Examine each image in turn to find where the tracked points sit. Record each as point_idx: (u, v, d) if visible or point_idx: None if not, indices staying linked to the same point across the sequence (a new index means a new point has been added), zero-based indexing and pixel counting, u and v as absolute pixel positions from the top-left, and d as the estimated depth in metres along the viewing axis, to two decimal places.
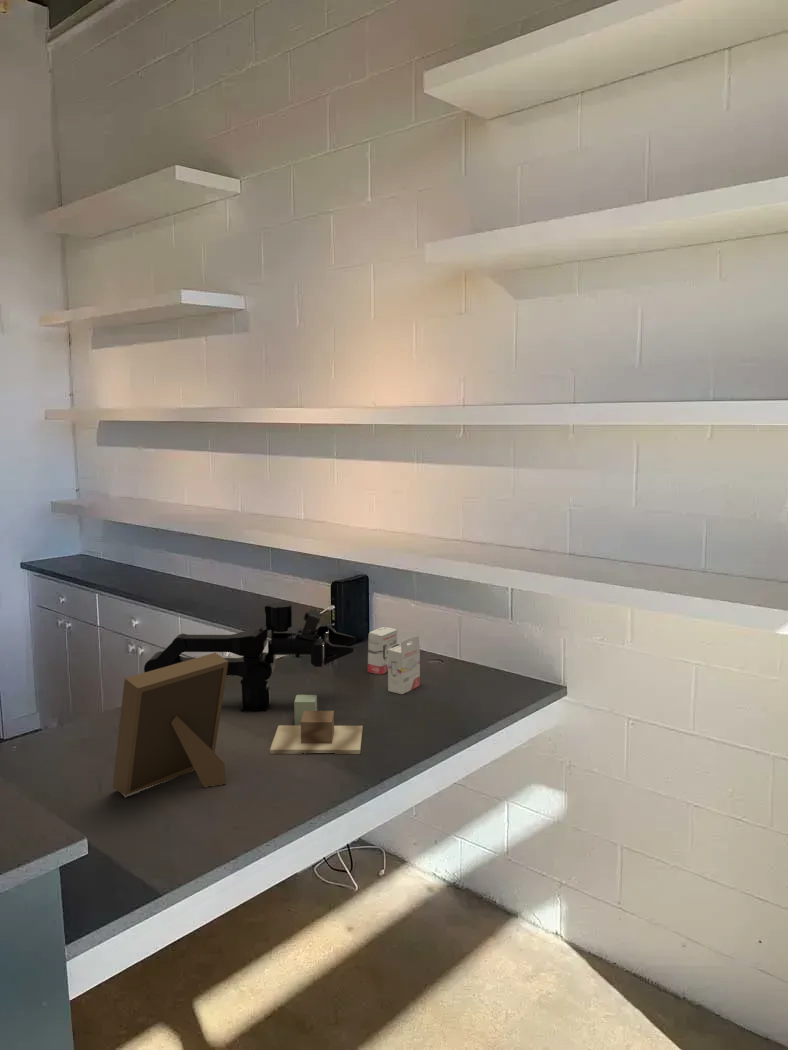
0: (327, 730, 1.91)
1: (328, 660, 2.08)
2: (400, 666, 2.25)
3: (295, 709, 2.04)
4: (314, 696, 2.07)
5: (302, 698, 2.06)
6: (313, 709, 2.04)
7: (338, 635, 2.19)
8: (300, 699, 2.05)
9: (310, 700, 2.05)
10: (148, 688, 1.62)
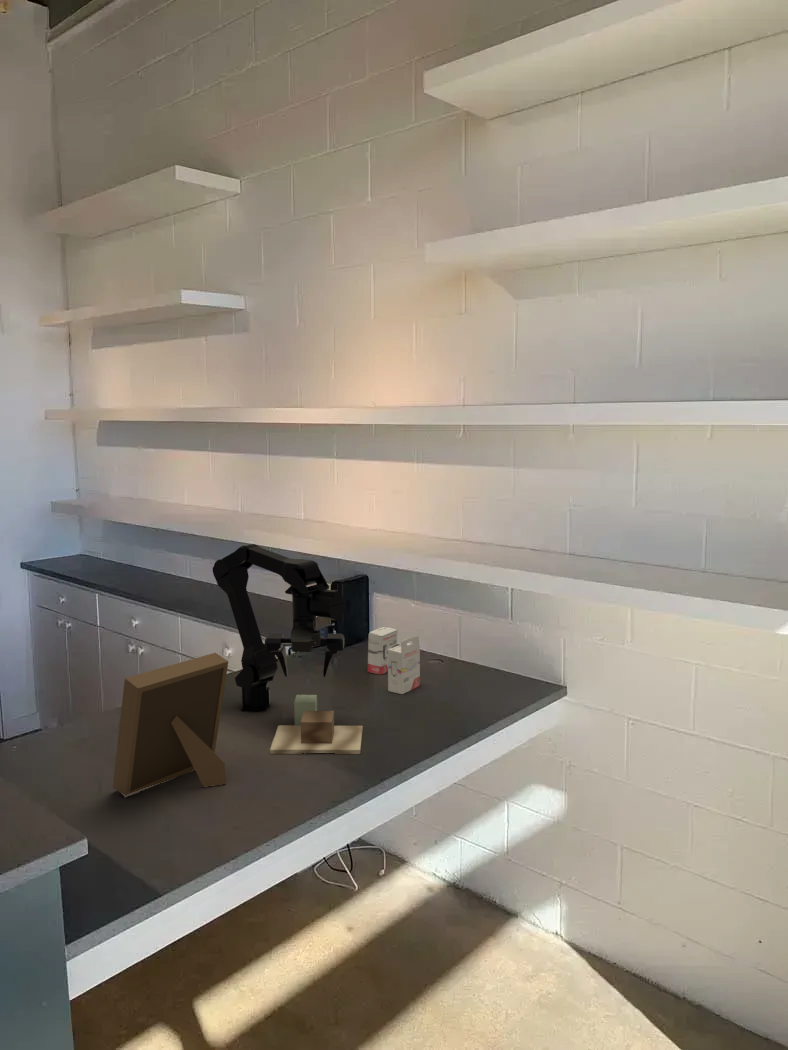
0: (327, 730, 1.91)
1: None
2: (400, 666, 2.25)
3: (295, 709, 2.04)
4: (314, 696, 2.07)
5: (302, 698, 2.06)
6: (313, 709, 2.04)
7: None
8: (300, 699, 2.05)
9: (310, 700, 2.05)
10: (148, 688, 1.62)
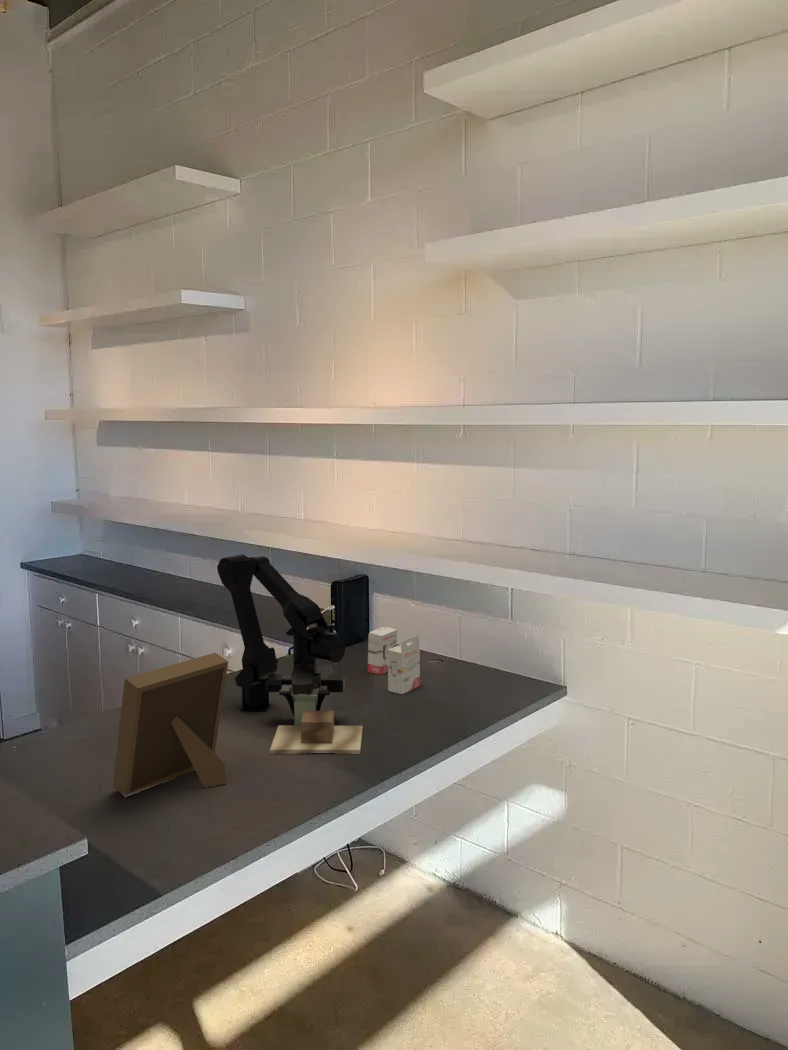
0: (327, 730, 1.91)
1: None
2: (400, 666, 2.25)
3: (295, 709, 2.04)
4: (314, 696, 2.07)
5: (302, 697, 2.06)
6: (313, 709, 2.04)
7: (317, 701, 2.05)
8: (300, 699, 2.05)
9: (310, 700, 2.05)
10: (148, 688, 1.62)
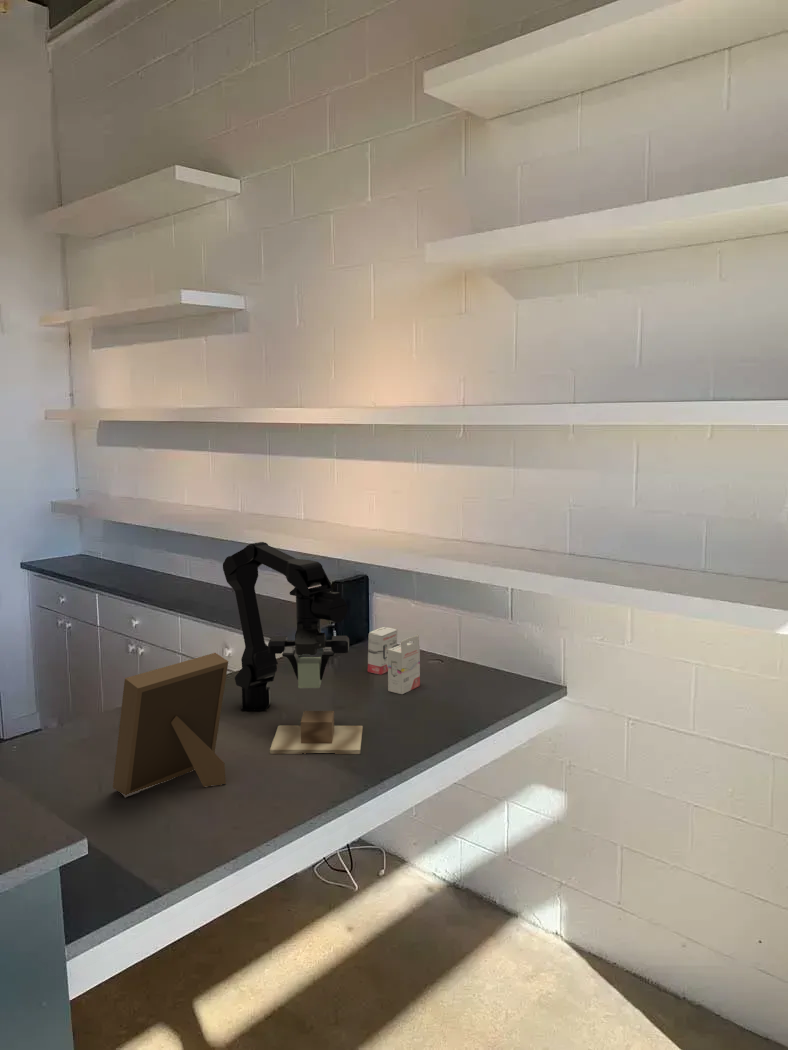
0: (327, 730, 1.91)
1: None
2: (400, 666, 2.25)
3: (299, 671, 1.99)
4: (318, 658, 2.02)
5: (305, 660, 2.01)
6: (317, 671, 1.99)
7: (321, 662, 2.00)
8: (303, 661, 2.00)
9: (314, 662, 1.99)
10: (148, 688, 1.62)
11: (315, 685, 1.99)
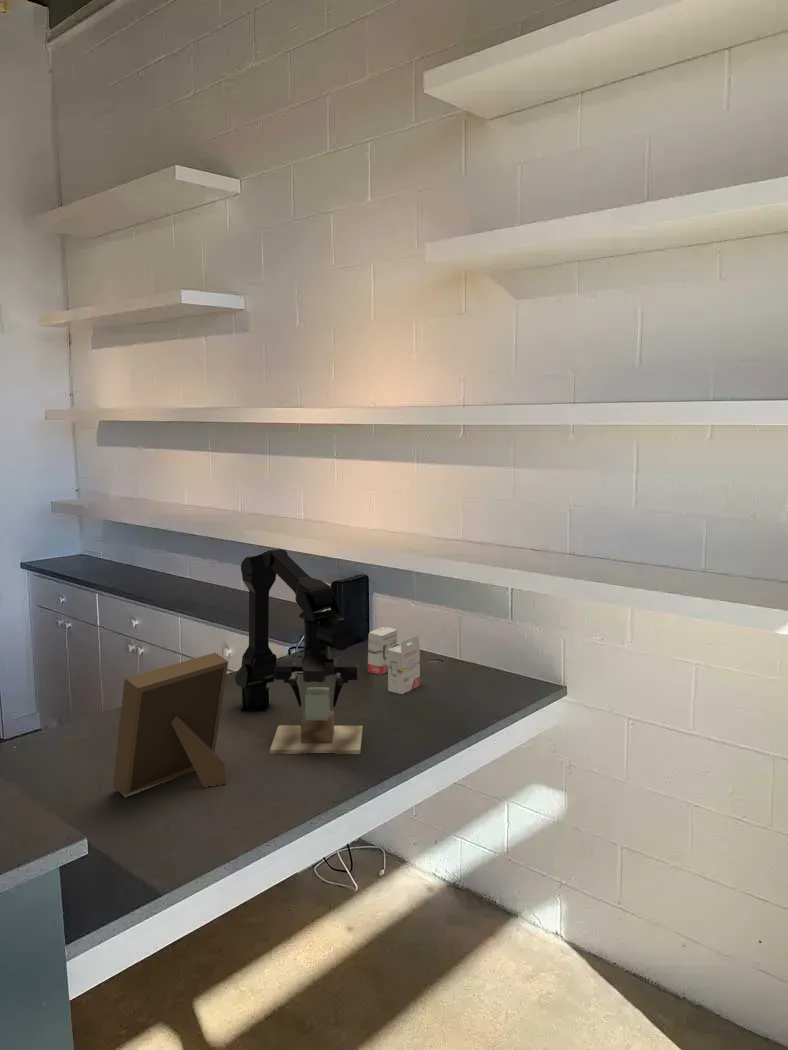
0: (327, 730, 1.91)
1: None
2: (400, 666, 2.25)
3: (306, 702, 1.91)
4: (326, 689, 1.95)
5: (313, 691, 1.93)
6: (325, 703, 1.91)
7: None
8: (311, 692, 1.93)
9: (322, 693, 1.92)
10: (148, 688, 1.62)
11: (323, 717, 1.92)
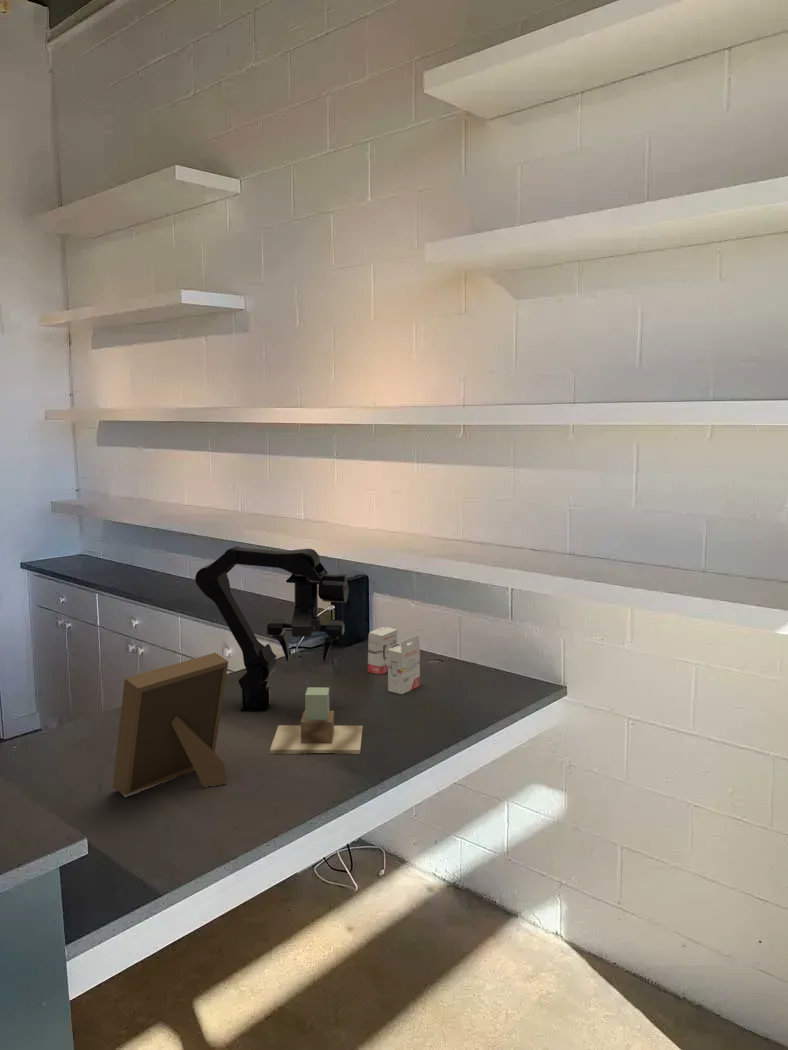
0: (327, 730, 1.91)
1: None
2: (400, 666, 2.25)
3: (306, 702, 1.91)
4: (326, 689, 1.95)
5: (313, 691, 1.93)
6: (325, 703, 1.91)
7: None
8: (311, 692, 1.93)
9: (322, 693, 1.92)
10: (148, 688, 1.62)
11: (323, 717, 1.92)
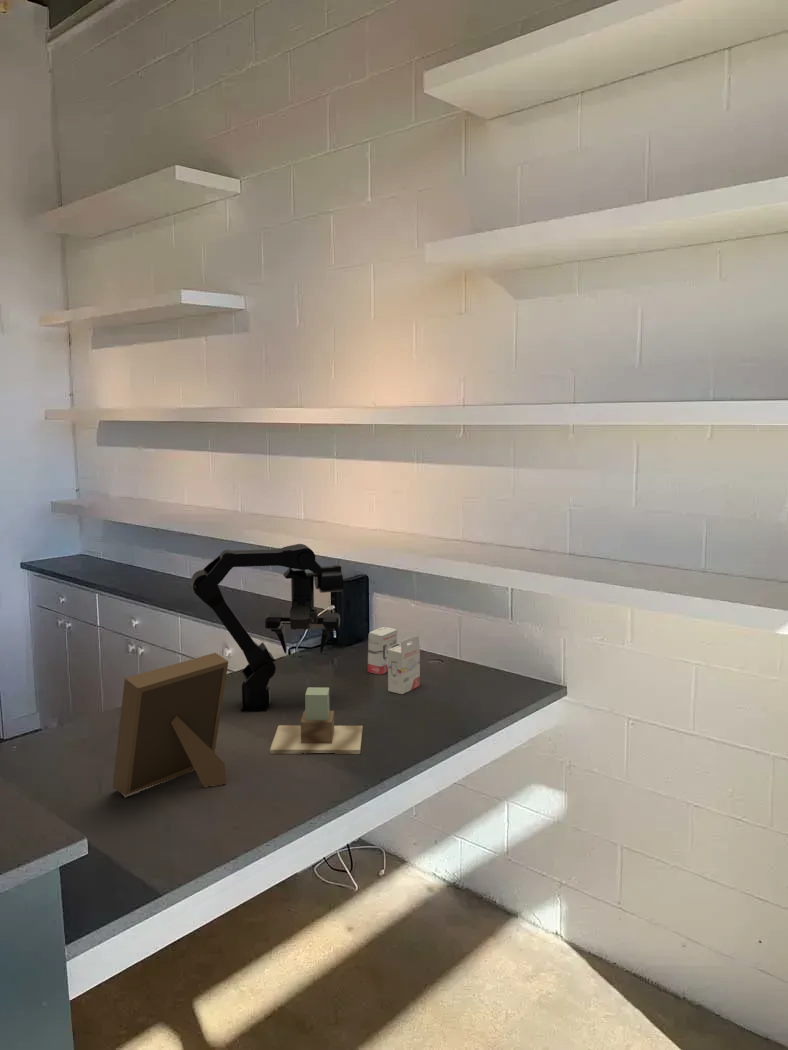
0: (327, 730, 1.91)
1: None
2: (400, 666, 2.25)
3: (306, 702, 1.91)
4: (326, 689, 1.95)
5: (313, 691, 1.93)
6: (325, 703, 1.91)
7: None
8: (311, 692, 1.93)
9: (322, 693, 1.92)
10: (148, 688, 1.62)
11: (323, 717, 1.92)
